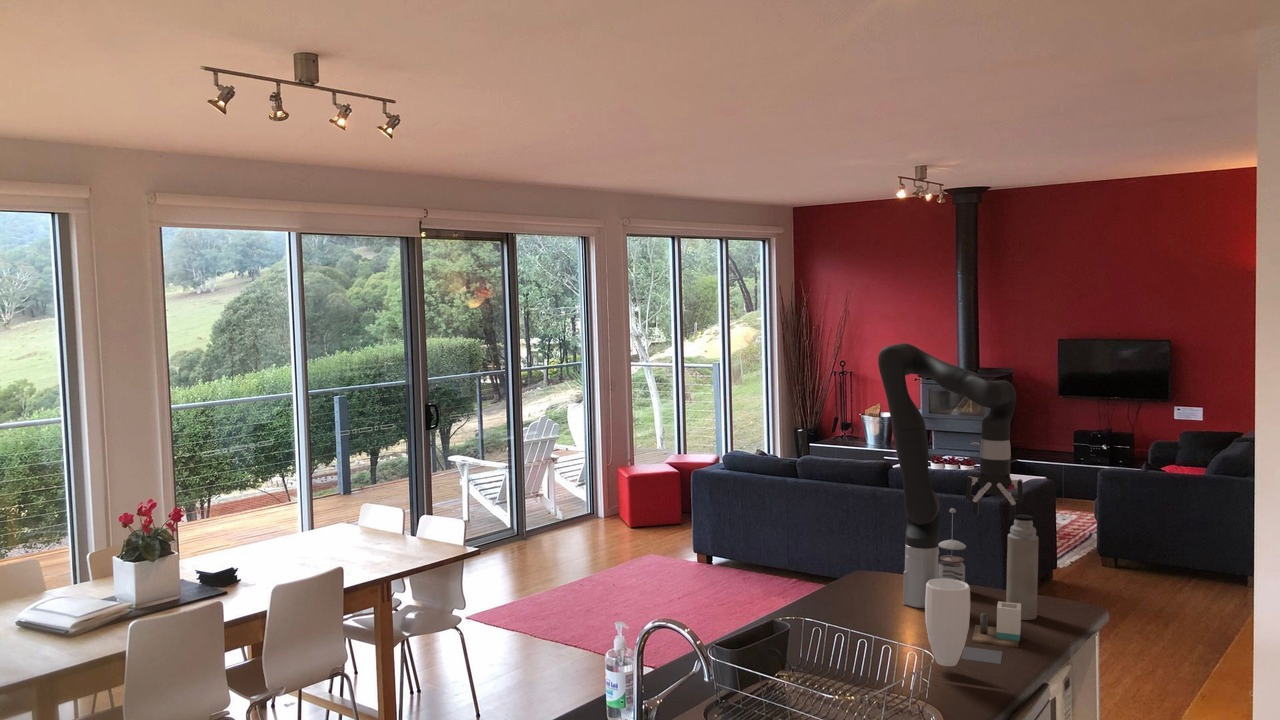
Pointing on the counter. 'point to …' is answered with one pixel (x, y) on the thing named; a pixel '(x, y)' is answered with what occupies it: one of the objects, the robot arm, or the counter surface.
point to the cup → (947, 618)
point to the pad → (982, 655)
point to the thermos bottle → (1023, 566)
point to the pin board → (989, 634)
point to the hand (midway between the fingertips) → (993, 517)
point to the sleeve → (1008, 621)
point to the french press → (951, 559)
